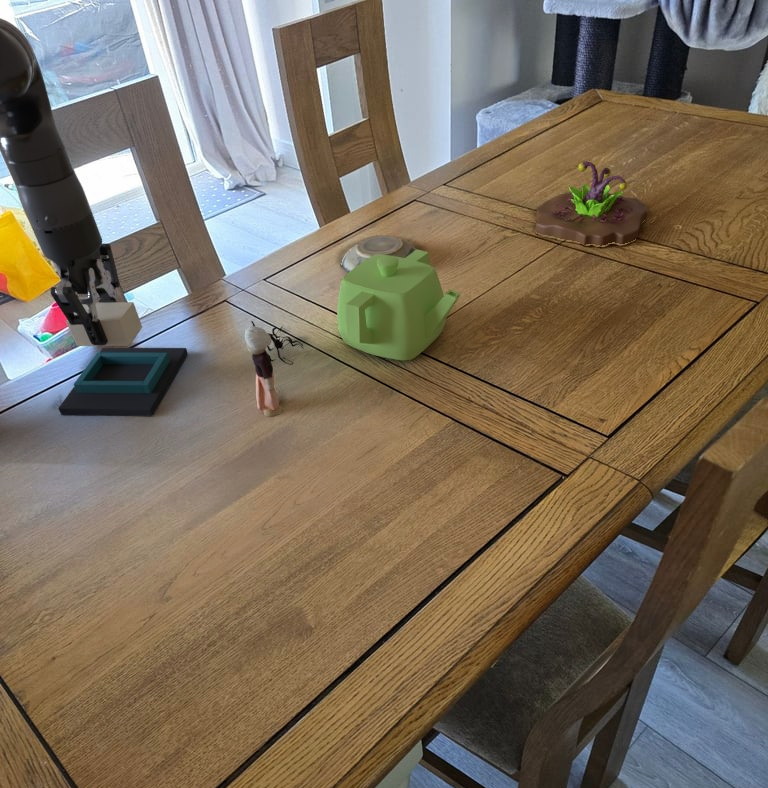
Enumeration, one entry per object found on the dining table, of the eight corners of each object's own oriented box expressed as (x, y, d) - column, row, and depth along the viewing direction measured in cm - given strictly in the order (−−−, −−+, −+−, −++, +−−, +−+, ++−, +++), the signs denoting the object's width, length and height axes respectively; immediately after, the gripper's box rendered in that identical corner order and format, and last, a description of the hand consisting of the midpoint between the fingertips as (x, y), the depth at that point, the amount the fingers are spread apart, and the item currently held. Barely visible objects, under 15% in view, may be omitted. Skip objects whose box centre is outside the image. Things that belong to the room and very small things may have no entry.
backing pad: (61, 415, 100) (53, 399, 98) (105, 354, 111) (99, 339, 109) (152, 416, 98) (146, 400, 96) (188, 354, 109) (183, 339, 107)
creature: (300, 344, 111) (249, 342, 109) (302, 313, 108) (250, 310, 106) (305, 370, 106) (252, 369, 104) (307, 339, 102) (252, 336, 100)
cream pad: (76, 346, 98) (65, 320, 95) (91, 327, 102) (80, 302, 99) (129, 346, 97) (119, 320, 94) (142, 327, 100) (133, 301, 98)
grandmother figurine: (250, 400, 99) (229, 320, 90) (275, 391, 100) (257, 311, 91) (268, 428, 94) (249, 346, 85) (295, 418, 95) (278, 337, 86)
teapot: (488, 327, 108) (491, 245, 99) (421, 394, 97) (418, 309, 88) (390, 301, 116) (384, 224, 107) (318, 361, 105) (304, 280, 96)
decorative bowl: (349, 246, 133) (331, 282, 123) (348, 226, 131) (329, 262, 120) (427, 247, 131) (415, 284, 120) (427, 227, 128) (415, 264, 118)
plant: (553, 198, 141) (559, 139, 133) (652, 209, 134) (664, 147, 126) (522, 240, 129) (526, 177, 121) (629, 253, 122) (641, 187, 114)
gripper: (57, 192, 92) (103, 308, 104) (3, 239, 82) (62, 361, 94) (110, 190, 91) (151, 307, 103) (62, 237, 81) (113, 361, 93)
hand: (108, 333), depth 99 cm, fingers closed on cream pad, 5 cm apart
